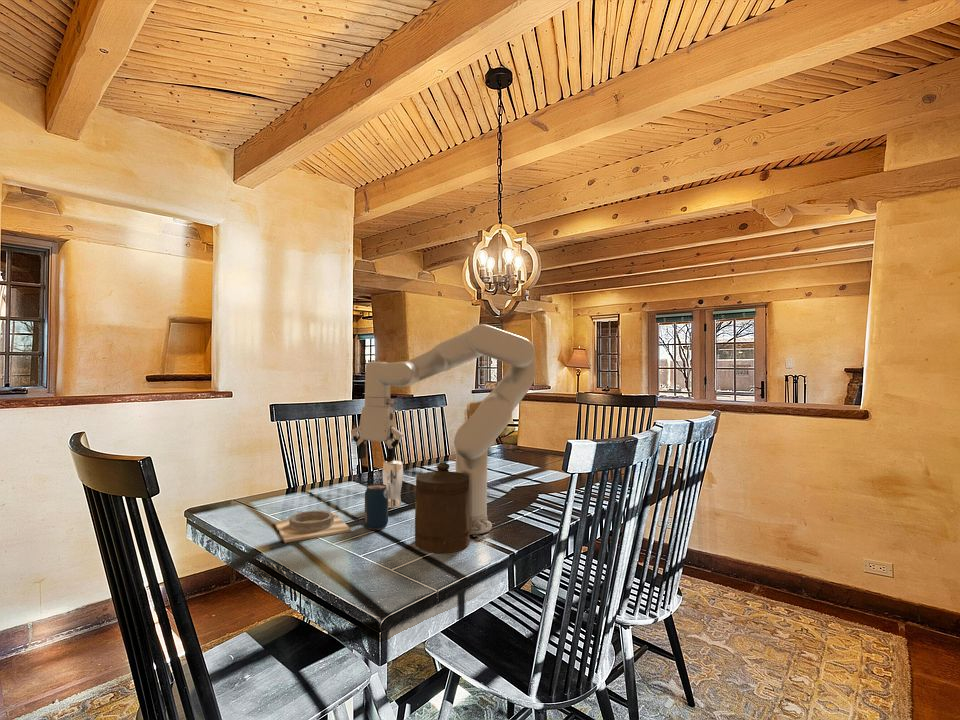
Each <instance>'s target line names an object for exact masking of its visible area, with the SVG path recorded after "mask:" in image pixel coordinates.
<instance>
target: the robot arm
mask: <svg viewBox="0 0 960 720" xmlns="http://www.w3.org/2000/svg"><path fill="white" fill-rule="evenodd" d="M483 356H485V357H488V358H491V359H494V360H497V361H499V362H503V363H505V364H508V368H507V371H506V373H505V374H504V375H503V377H502V378H500V380H499V382H498V383H497V385H496V386H494V388H493V389H492V390H491V392H490V393H489V394H488V395H487V396H485V397H484V398H483V399H482V401H480V404H479V405H478V407H477V408H476V409H475V410H474V412H473V413H472V414H471V416H470V417H469V418H468V419H467V420H466V421H465V422H464V423H462V424H461V425H459V427H458V429H457V430H456V432H455V434H454V437H453V438H454V439H453V446H454V450H455V472H458V473H463V474H466V475H468V476H469V511H470V529H469V532H470V535H479V534H480V535H481V534H486V533H488V532H490V531H491V530H492V527H493V524H492V522H491V521H489V520H488V515H487V512H488V509H487V508H488V505H487V503H488V456H489V455H488V452H489V451H488V449H489V448H490V447H491V446H492V444H493V443H494V442H495V441H496V439H497V438H498V437H499V436H500V435H501V434H502V432H504V430H505V429H506V427H507V426H508V425H509V423H510V422H511V420H512V416H513V411H514V410H515V408H516V407H517V406H518V405H519V404H520V403H521V401H522V400H523V399H524V397H525V396H526V394H527V393H528V392H529V390H530V389H531V387H532V386H533V384H534V381H535V378H536V374H537V361H536V349H535V346H534V344H533V343H532V342H531V340H529V339H528V338H526V337H523V336H520V335H517V334H514V333H512V332H510V331H509V332H508V331H505V330H502V329H500V328H497V327H495V326H492V325H490V324H486V323H480V324H476V325H475V326H473V327H472V328H471V329H469V330H467V331H465V332H463V333H461V334H458V335H456V336H453V337H451V338H448V339H445V340H443V341H442V342H440V343H438V344H436V345H435V346H434V347H433V348H432V349H430V350H428V351H427V352H424V353H423V354H420V355H418V356H416V357H414V358H410V359H409V360H406V361H396V362H387V361H367V363H366V364H365V374H364V375H365V378H364V406H362V409H361V413H360V419H359V425H358V426H357V427H356V426H355V427H354V428H352V429H351V430H350V433H351V436H352V439H353V441H354V443H355V445H356V446H357V459H358V460H362V459H365V458H366V456H367V455H366V454H367V445H366V444H365V443H366V442H367V441H368V442H369V441H371V442H382V443H383V442H384V443H385V444H386V445H387V447H388V448H386V461H387V462H391V461H393V460H395V457H396V455H395V453H396V450H395V449H396V448H397V446H398V445H399V444H400V443H401V441H402V439H403V437H404V433H403V432H402V431H400V430H398V429H396V422H395V421H396V420H395V415H394V409H393V407H391V405H394V403H395V400H394V399H391V387H392V386H393V387H398V388H404V387H405V388H406V387H409V386H412V385H415V384H416V383H419V382H421V381H423V380H426V379H428V378H430V377H433V376H435V375H438V374H440V373H443V372H448V371H450V370H452V369H454V368H457V367H458V366H459V367H460V366H462V365H463V364H467V363H469V362H471V361H473V360H475V359H478V358H481V357H483ZM358 432H359V434H358Z"/></svg>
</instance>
